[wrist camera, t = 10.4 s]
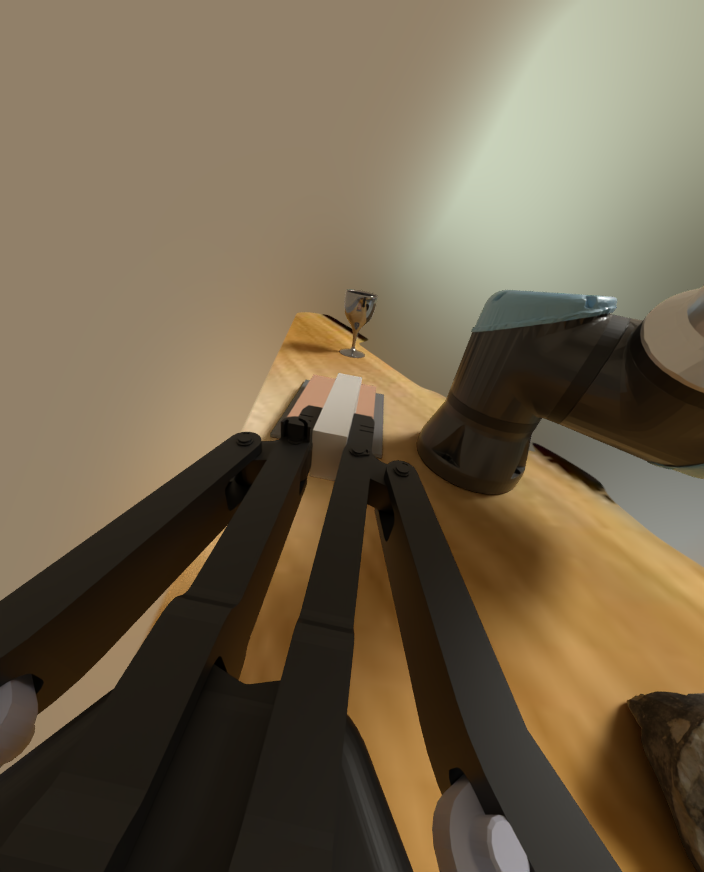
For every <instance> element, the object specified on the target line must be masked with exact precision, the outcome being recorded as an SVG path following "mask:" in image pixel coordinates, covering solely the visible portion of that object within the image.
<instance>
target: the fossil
mask: <svg viewBox="0 0 704 872" xmlns="http://www.w3.org/2000/svg"><path fill="white" fill-rule="evenodd" d="M627 705H628V707H629V709H630V711H631V713H632V714H633V716H634V718H635V719H636V721H637V723H638V724H639V725H640V727H641V728H642V735H641V742H642V745H643V748H644V751H645V754H646V756H647V758H648V760H649V762H650V764H651V766H652V768H653V770H654V772H655V774H656V776H657V779H658V781H659V783H660V786H661V788H662V791H663V793H664V795H665V798H666V800H667V802H668V804H669V807H670V809H671V812H672V815H673V818H674V821H675V824H676V827H677V830H678V833H679V835H680V838H681V841H682V844H683V846H684V848H685V851H686V853H687V855H688V857H689V859H690V861H691V862H692V864H693V865H694V867H695V868H696V870H697V871H698V872H704V693H701V694H688V695H682V694H678V693H672V692H653V693H649V694H646V695H643V694H640V695H639V696H635V697H633V698H632V699H630V700H627Z"/></svg>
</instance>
